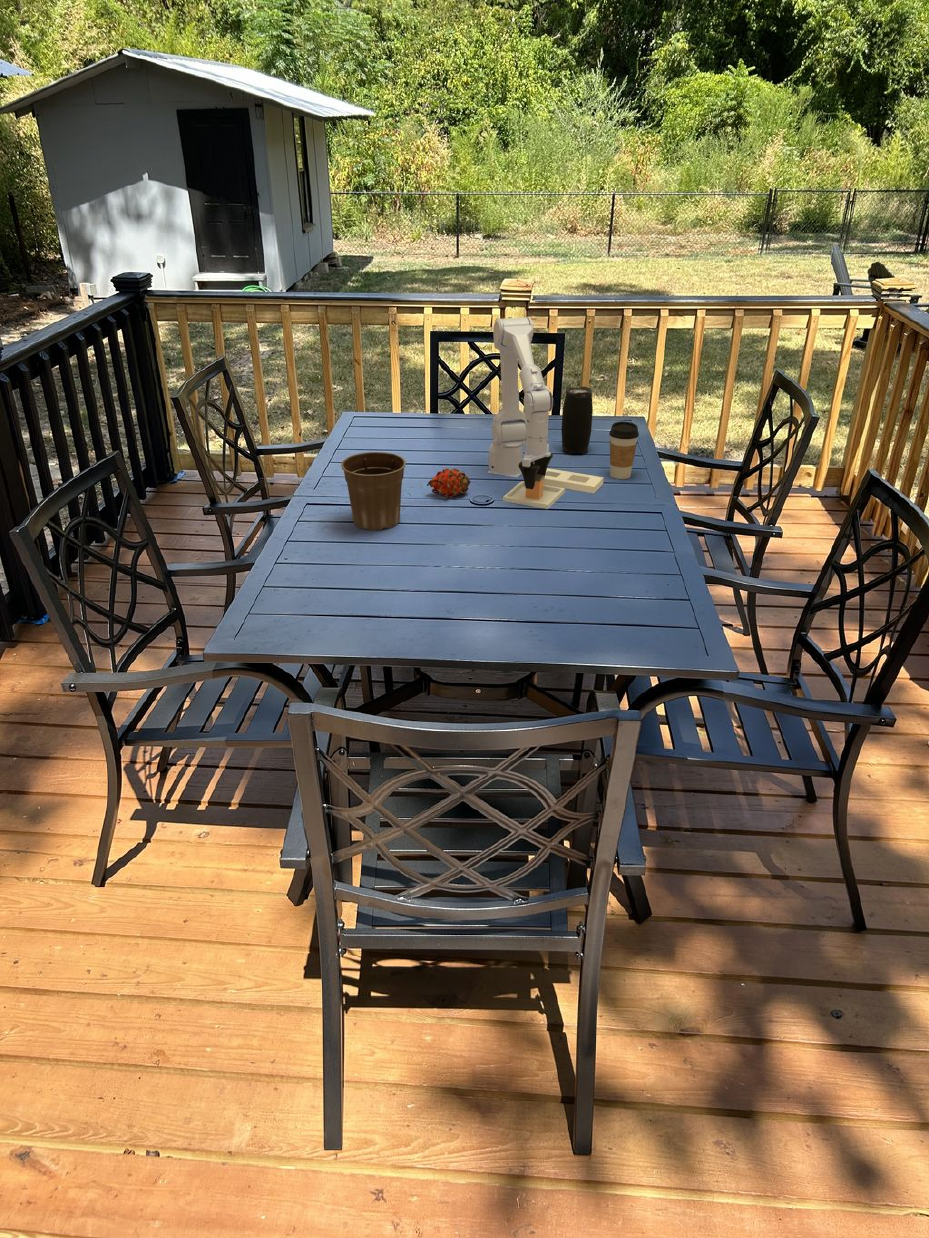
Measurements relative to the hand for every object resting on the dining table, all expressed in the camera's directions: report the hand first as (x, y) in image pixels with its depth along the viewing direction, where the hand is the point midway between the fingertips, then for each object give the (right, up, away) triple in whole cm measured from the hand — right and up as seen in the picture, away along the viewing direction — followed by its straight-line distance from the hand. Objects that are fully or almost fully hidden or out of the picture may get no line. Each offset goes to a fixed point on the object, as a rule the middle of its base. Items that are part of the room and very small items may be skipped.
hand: (534, 483), depth 247 cm
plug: (0, -3, +2) cm, 4 cm away
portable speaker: (+15, +15, +36) cm, 42 cm away
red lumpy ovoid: (-24, -3, +4) cm, 24 cm away
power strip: (+10, +1, +11) cm, 15 cm away
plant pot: (-42, -12, -11) cm, 45 cm away
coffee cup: (+26, +5, +18) cm, 32 cm away
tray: (0, -4, +2) cm, 4 cm away
